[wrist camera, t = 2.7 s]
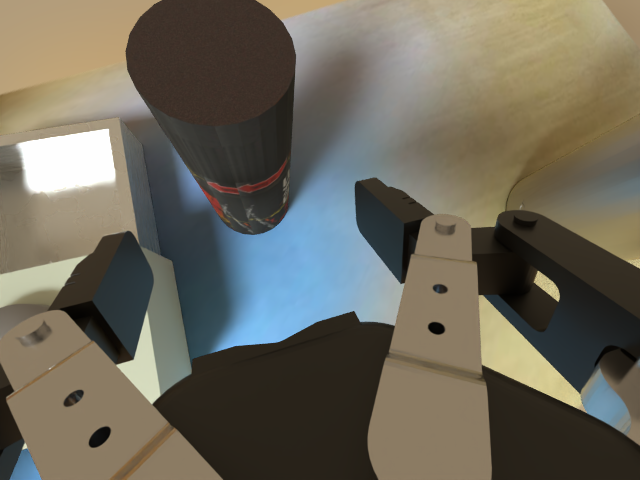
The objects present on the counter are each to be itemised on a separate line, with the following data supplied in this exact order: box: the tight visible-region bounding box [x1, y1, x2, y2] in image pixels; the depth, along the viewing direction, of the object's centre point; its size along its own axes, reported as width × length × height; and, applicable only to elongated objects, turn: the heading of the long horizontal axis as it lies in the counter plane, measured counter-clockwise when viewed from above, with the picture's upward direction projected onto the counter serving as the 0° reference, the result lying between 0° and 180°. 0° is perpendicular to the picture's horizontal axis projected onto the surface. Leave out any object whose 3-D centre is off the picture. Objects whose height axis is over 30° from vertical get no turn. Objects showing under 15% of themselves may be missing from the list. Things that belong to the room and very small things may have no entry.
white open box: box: [0, 117, 161, 275], centre depth 22 cm, size 11×10×4 cm
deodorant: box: [126, 0, 296, 235], centre depth 18 cm, size 6×6×15 cm
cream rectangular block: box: [0, 246, 192, 450], centre depth 18 cm, size 12×9×7 cm
